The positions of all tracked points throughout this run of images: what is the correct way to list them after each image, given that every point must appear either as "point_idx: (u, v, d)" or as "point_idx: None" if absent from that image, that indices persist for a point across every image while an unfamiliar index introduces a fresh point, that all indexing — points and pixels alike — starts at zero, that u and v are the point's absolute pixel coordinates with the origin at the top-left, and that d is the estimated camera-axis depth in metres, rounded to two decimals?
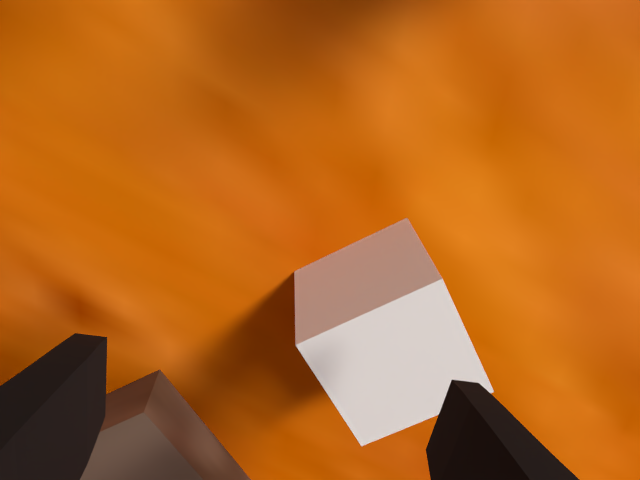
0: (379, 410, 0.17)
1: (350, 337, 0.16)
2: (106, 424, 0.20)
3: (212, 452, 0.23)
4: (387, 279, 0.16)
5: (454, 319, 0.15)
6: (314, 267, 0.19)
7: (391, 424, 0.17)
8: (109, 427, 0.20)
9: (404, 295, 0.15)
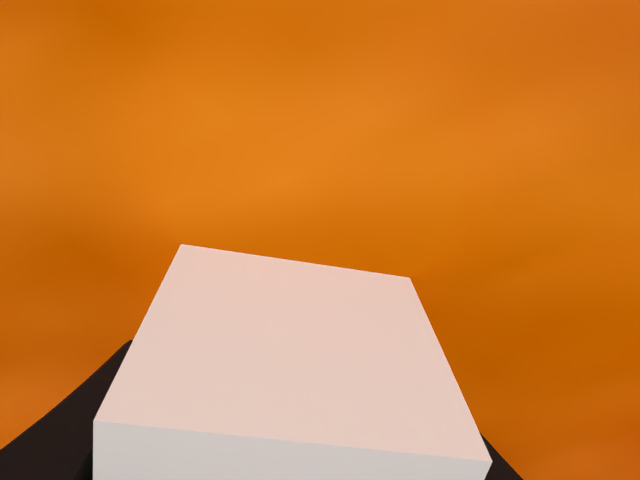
0: None
1: None
2: None
3: None
4: None
5: (224, 445, 0.06)
6: None
7: None
8: None
9: None
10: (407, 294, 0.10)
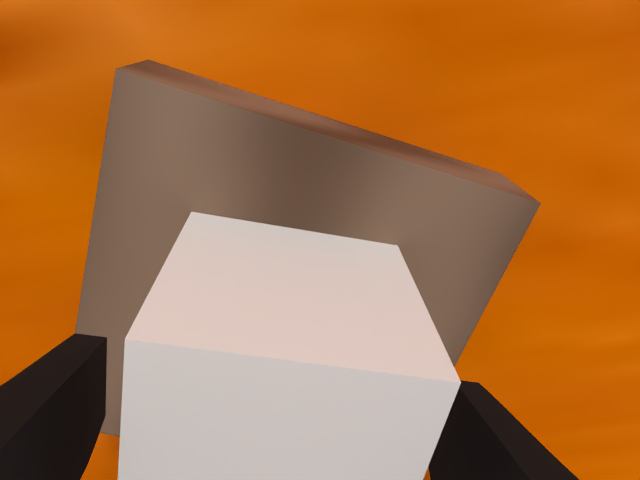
0: None
1: None
2: (107, 152, 0.11)
3: (322, 121, 0.12)
4: None
5: (234, 364, 0.07)
6: None
7: None
8: (104, 143, 0.11)
9: None
10: (395, 258, 0.11)
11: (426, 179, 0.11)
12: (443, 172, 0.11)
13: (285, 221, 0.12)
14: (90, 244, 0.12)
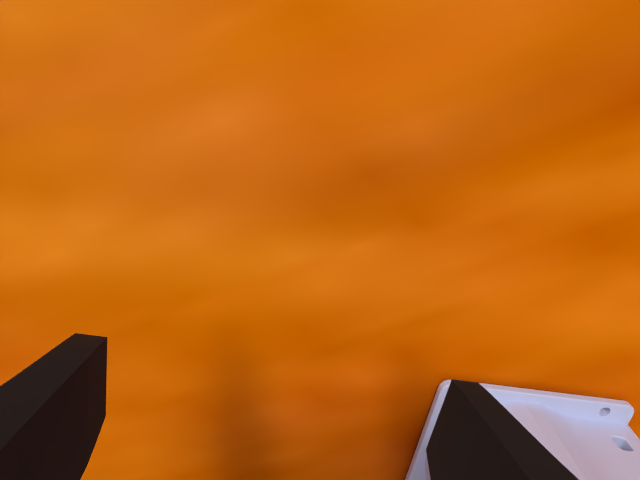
0: None
1: None
2: None
3: None
4: None
5: None
6: None
7: None
8: None
9: None
10: None
11: None
12: None
13: None
14: None
